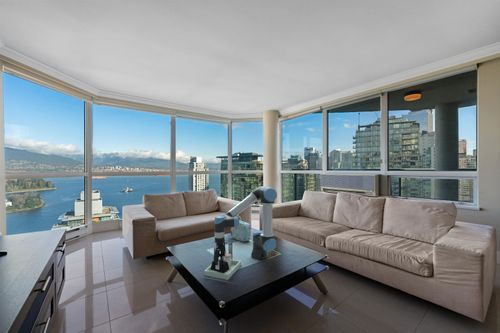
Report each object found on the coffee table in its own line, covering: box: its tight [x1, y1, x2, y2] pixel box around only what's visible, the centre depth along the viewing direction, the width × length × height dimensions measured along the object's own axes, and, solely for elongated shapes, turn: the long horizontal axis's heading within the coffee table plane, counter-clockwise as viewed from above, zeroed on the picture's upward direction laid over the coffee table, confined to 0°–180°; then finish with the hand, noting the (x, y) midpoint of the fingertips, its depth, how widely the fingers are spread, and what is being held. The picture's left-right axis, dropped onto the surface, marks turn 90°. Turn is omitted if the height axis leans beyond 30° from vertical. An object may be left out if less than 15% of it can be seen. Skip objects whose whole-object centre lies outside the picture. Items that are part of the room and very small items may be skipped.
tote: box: [203, 257, 242, 282], centre depth 166 cm, size 20×24×4 cm
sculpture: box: [210, 251, 229, 273], centre depth 161 cm, size 8×13×15 cm, turn 58°
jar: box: [224, 253, 233, 267], centre depth 173 cm, size 6×6×9 cm
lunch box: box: [230, 219, 252, 243], centre depth 238 cm, size 27×10×21 cm, turn 45°
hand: (220, 266), depth 161 cm, fingers closed on sculpture, 7 cm apart
